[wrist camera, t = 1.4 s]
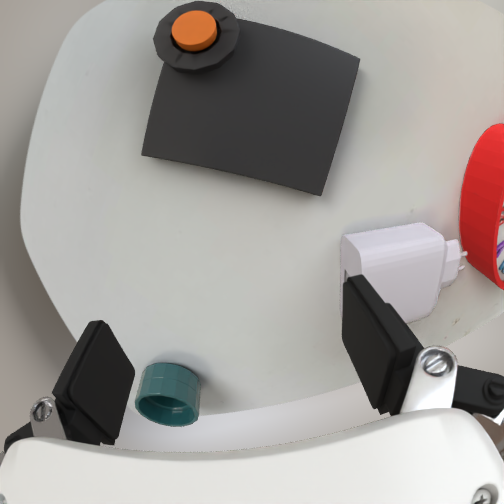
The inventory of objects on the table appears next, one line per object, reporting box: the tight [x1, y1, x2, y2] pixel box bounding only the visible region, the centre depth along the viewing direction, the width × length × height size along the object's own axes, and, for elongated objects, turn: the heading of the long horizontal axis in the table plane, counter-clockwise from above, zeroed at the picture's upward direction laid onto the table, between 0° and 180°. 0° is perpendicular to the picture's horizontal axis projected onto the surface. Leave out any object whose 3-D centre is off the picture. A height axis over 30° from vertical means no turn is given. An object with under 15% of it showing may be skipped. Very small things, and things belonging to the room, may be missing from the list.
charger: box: [340, 222, 467, 324], centre depth 23 cm, size 5×9×15 cm
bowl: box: [135, 363, 201, 427], centre depth 28 cm, size 7×7×5 cm
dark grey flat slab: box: [141, 1, 360, 196], centre depth 17 cm, size 15×12×3 cm
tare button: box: [172, 11, 217, 51], centre depth 13 cm, size 3×3×2 cm
